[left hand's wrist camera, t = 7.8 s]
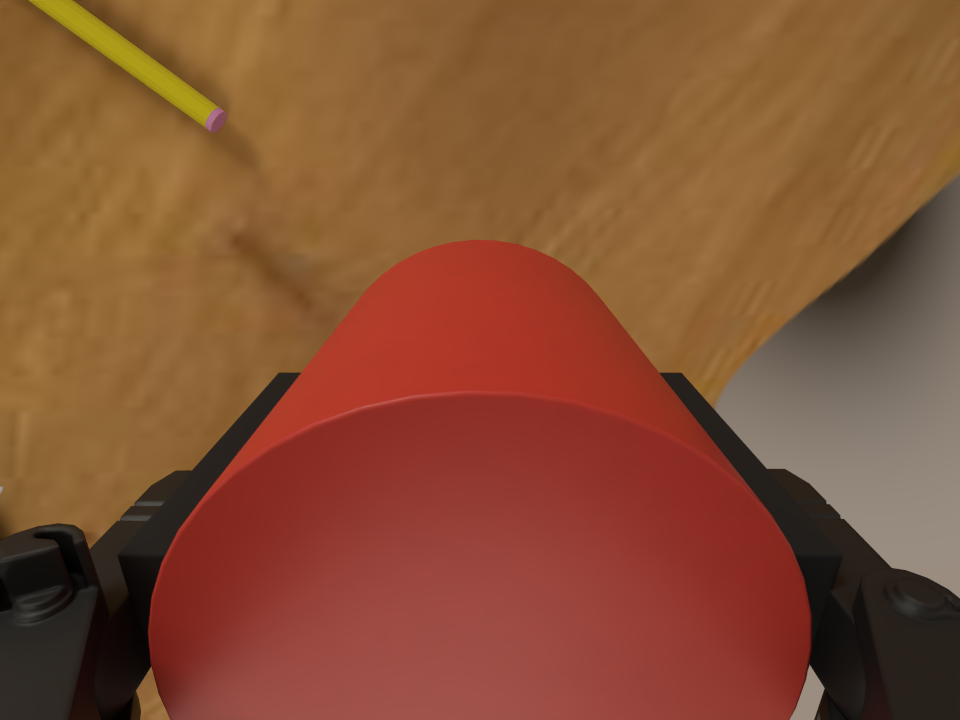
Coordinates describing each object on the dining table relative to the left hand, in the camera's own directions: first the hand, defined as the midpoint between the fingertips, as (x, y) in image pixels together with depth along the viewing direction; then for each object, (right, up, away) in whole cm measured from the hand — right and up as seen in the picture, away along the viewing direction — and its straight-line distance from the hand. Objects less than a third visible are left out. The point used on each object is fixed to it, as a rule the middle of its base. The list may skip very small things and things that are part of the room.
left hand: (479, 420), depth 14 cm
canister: (0, +1, +2) cm, 2 cm away
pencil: (-17, +16, +7) cm, 24 cm away
